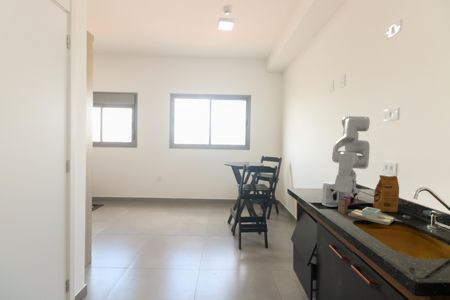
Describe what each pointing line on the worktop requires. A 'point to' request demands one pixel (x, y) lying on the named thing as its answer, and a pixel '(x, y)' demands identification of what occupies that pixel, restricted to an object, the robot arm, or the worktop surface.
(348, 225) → the worktop surface
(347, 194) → the candy bar box
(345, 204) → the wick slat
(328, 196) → the supplement tub
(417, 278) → the worktop surface
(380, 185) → the coffee package
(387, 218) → the maple board
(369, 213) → the pale green block
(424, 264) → the worktop surface
